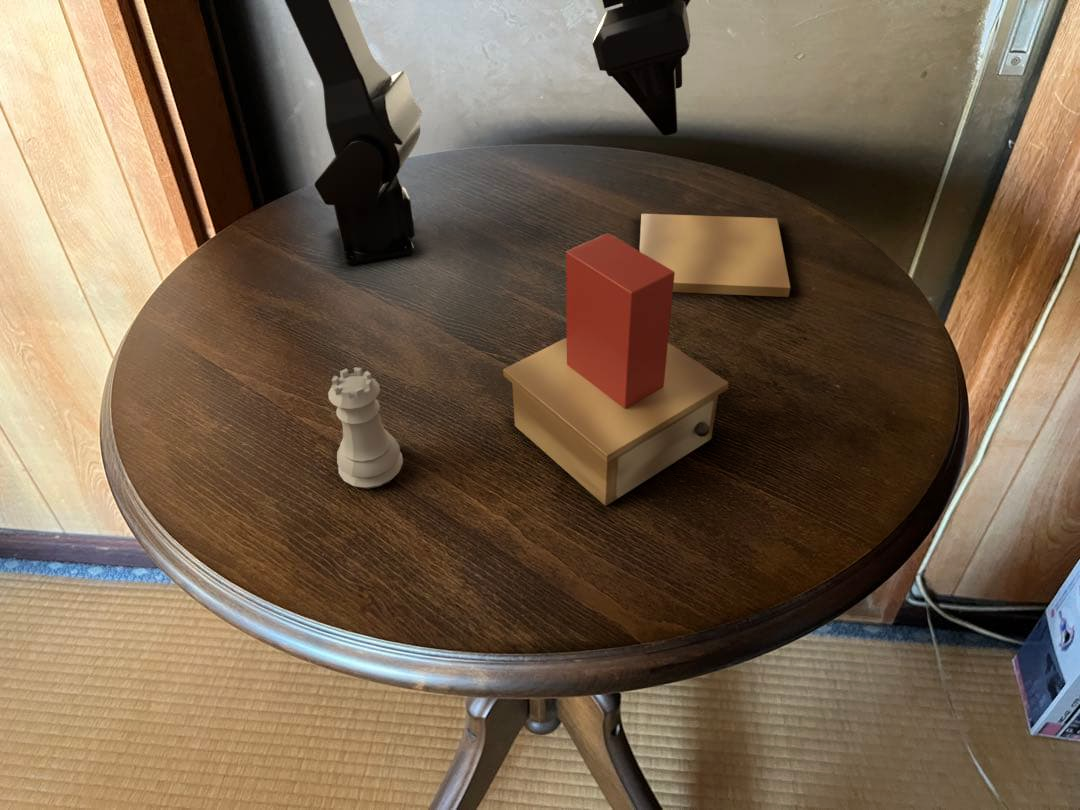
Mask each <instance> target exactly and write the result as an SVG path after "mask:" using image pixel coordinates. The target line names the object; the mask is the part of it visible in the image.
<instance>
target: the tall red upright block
mask: <svg viewBox="0 0 1080 810" xmlns="http://www.w3.org/2000/svg"><path fill="white" fill-rule="evenodd" d="M565 258H566V259H565V272H566V273H565V277H566V278H565V281H566V282H565V284H566V285H565V286H566V287H565V288H566V289H565V290H566V291H565V293H566V300H565V301H566V306H565V307H566V310H565V311H566V338H567V365H568V366H569V367H571V368H572V369H573V370H575V371H576V372H577V373H579V374H580V375H581V376H583V377H584V378H585V379H586V380H588V381H589V382H590V383H592V384H593V385H594V386H596V387H597V388H598V389H600V390H601V391H602V392H604V393H605V394H606V395H607V396H609V397H610V398H611V399H613V400H614V401H615V402H617V403H618V404H619V405H621V406H622V407H623V408H625V409H626V408H628V407H630V406H631V405H633V404H635V403H637V402H638V401H640V400H642V399H643V398H645V397H647V396H649V395H650V394H652V393H654V392H656V391H657V390H659V389H661V388H663V387H664V378H665V368H666V358H667V347H668V343H669V336H670V327H671V326H670V325H671V317H672V316H671V315H672V306H673V305H672V304H673V297H674V296H673V295H674V294H673V293H674V292H673V285H674V275H675V272H674V271H672V270H671V269H669V268H667V267H665V266H664V265H662V264H660V263H659V262H657V261H655V260H654V259H652V258H650V257H648V256H647V255H645V254H643V253H642V252H640V251H639V250H638V249H636V248H635V247H633V246H631V245H630V244H628V243H626V242H624V241H623V240H621V239H620V238H618V237H616V236H614V235H613V234H611V233H609V232H607V233H605V234H602V235H600V236H598V237H596V238H594V239H591V240H589V241H586V242H584V243H581V244H580V245H578V246H576V247H575V246H574V247H573V248H571V249H568V250H567V251H566V252H565Z"/></svg>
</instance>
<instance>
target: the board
mask: <svg viewBox="0 0 1080 810" xmlns="http://www.w3.org/2000/svg"><path fill="white" fill-rule="evenodd" d="M639 231H640V233H639V250H638V251H640V252H642V253H643V254H645V255H647V256H648V257H650V258H652V259H654V260H655V261H657V262H659V263H660V264H662V265H664V266H665V267H667V268H669V269H671V270H672V271H674V272H675V275H674V285H673V293H683V294H684V293H685V294H707V295H710V294H711V295H731V296H733V295H734V296H753V297H777V298H789V297H790V293H791V282H790V278H789V277H790V276H789V272H788V267H787V261H786V257H785V252H784V247H783V246H784V245H783V241H782V236H781V231H780V225H779V221H778V218H777V217H752V216H749V217H748V216H723V215H721V216H719V215H695V214H691V215H690V214H666V213H665V214H664V213H662V214H661V213H641V215H640V230H639Z"/></svg>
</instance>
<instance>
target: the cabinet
mask: <svg viewBox="0 0 1080 810" xmlns="http://www.w3.org/2000/svg"><path fill="white" fill-rule="evenodd" d="M502 372H503V373H502V374H503V377H504V378H505V379H506V380H508V381H509V382H510V383H511V386H512V403H513V413H514V414H513V417H514V427H516V429H518V430H519V431H520V432H521V433H522V434H523V435H524V436H525V437H527V439H529V440H530V441H531V442H532V443H533V444H534V445H536V446H537V447H538V448H539V449H540V450H541V451H543V452H544V453H545V454H546V455H547V456H548V457H549V458H550V459H551V460H553V461H554V462H555V463H556V464H557V465H559V466H560V467H561V468H562V469H563V470H564V471H565V472H566V473H567V474H569V476H571V477H572V478H573V479H574V480H575V481H576V482H578V483H579V484H580V485H581V486H582V487H583V488H584V489H585V490H587V492H589V493H590V494H591V495H593V497H594V498H596V499H597V500H598V501H599V502H600V503H601V504H603V505H604V506H606V507H607V506H608V505H610V504H611V503H613V502H615V501H616V500H617V499H619V498H621V497H622V496H624V495H625V494H627V493H629V492H631V491H632V490H634V489H635V488H637V487H639V485H641V484H643V483H644V482H646V481H648V480H649V479H650V478H652V477H654V476H655V475H657V474H658V473H660V472H661V471H664V470H665V469H667V468H668V467H669V466H672V464H675V463H676V462H677V461H679V460H680V459H682V458H684V457H685V456H687V455H688V454H690V453H692V452H693V451H695V450H697V449H698V448H700V447H701V446H703V445H704V444H706V443H707V442H709V441H711V440H712V437H713V430H714V425H715V423H714V422H715V417H716V411H717V404H718V398H719V395H721V394H722V393H724V392H725V391H727V390H728V389H729V383H730V382H728V381H727V380H725V379H724V378H722V377H721V376H719V375H718V374H716V373H715V372H713V371H712V370H710V369H709V368H707V367H706V366H704V365H703V364H701V363H700V362H698V361H697V360H695V359H694V358H692V357H691V356H689V355H688V354H686V353H685V352H683V351H682V350H680V349H679V348H677V347H675V346H674V345H672V344H671V343H670V342H668V347H667V358H666V368H665V378H664V387H663V388H661V389H659V390H657V391H656V392H654V393H652V394H650V395H649V396H647V397H645V398H643V399H642V400H640V401H638V402H637V403H635V404H633V405H631V406H630V407H628V408H626V409H625V408H623V407H622V406H621V405H619V404H618V403H617V402H615V401H614V400H613V399H611V398H610V397H609V396H607V395H606V394H605V393H604V392H602V391H601V390H600V389H598V388H597V387H596V386H594V385H593V384H592V383H590V382H589V381H588V380H586V379H585V378H584V377H583V376H581V375H580V374H579V373H577V372H576V371H575V370H573V369H572V368H571V367H569V366H568V365H567V337H565V338H563V339H561V340H559V341H557V342H555V343H553V344H551V345H549V346H547V347H545V348H543V349H541V350H539V351H537V352H535V353H533V354H531V355H529V356H527V357H525V358H523V359H521V360H519V361H517V362H515V363H513V364H511V365H509V366H507V367H505V368H504V369H503V370H502Z"/></svg>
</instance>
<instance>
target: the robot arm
mask: <svg viewBox="0 0 1080 810" xmlns="http://www.w3.org/2000/svg"><path fill="white" fill-rule="evenodd" d="M601 1H602V5H603V8H604V9H608V8H611V7H614V6H618V5H621V6H618V7H615V8H612V9H608V10H606V12H605V14H604V15H603V17H602V19H601V21H600V22H599V25H598V27H597V29H596V32H595V35H594V38H593V41H592V47H593V51H594V52H593V53H594V55H595V58H596V62H597V65H598V69H599V71H603V72H605V73H606V75H607V76H608V77H612V78H613V79H614V80H615V81H616V82H617V84H618V85H619V86H620V87H621V88H622V89H623V90H624V91H625V93H627V95H628V96H629V97H630V98H631V99H632V100H633V101H634V102H635V104H636V105H637V106H638V107H639V108H640V110H641V111H642V112H643V113H644V114H645V115H646V117H647V118H648V119H649V121H650V122H651V123H652V124H653V125H654V127H656V129H657V130H658V131H659V132H660V133H661V135H662V136H664V137H667V136H672V135H675V134H677V133H678V128H679V127H678V104H677V103H678V102H677V89H680V88H682V87H683V57H684V56H686V54H688V52H689V49H690V46H691V45H690V44H691V35H692V34H691V28H690V22H689V16H688V11H687V7H688V6H689V4H690V2H691V0H601ZM284 3H285V5H286V8H287V9H288V12H289V14H290V16H291V19H292V21H293V23H294V24H295V26H296V28H297V31H298V33H299V35H300V37H301V39H302V42H303V44H304V46H305V48H306V51H307V52H308V54H309V57H310V59H311V61H312V63H313V66H314V68H315V70H316V72H317V74H318V77H319V79H320V81H321V84H322V89H323V102H324V114H325V125H326V130H327V133H328V136H329V140H330V143H331V147H332V149H333V154H334V157H333V159H331V162H330V163H329V164H328V165H327V166H326V167H325V169H324V170H323V171H322V172H321V174H320V175H319V177H318V178H317V179H316V181H315V182H314V188H315V189H316V191H317V192H318V195H319V196H320V198H321V200H322V201H323V203H324V204H325V205H326V206H333V209H334V214H335V218H336V224H337V229H336V231H337V237H338V240H339V243H340V247H341V248H340V249H341V251H342V255H343V259H344V263H345V264H346V265H348V266H350V265H355V264H361V263H367V262H372V261H378V260H385V259H388V258H389V259H391V258H394V257H399V256H405V255H410V254H412V253H414V252H415V246H414V243H413V241H412V239H414V238H415V237H416V233H415V225H414V218H413V211H412V203H411V199H410V195H409V194H408V191H407V188H405V187H404V186H402V183H401V180H400V178H399V176H398V175H399V172H400V170H402V167H403V166H404V164H405V162H406V161H407V160H408V158H409V156H410V155H411V153H412V152H413V150H414V149H415V147H416V146H417V143H418V141H419V138H420V135H421V124H420V118H421V117H422V116H423V114H424V111H423V109H422V108H421V107H420V106H419V105H418V104H417V102H416V100H415V98H414V97H413V93H412V91H411V86H410V81H409V78H408V76H407V74H406V72H405V71H404V70H401V71H398V72H397V73H395V74H392V75H391V74H389V73H388V72H387V71H386V70H385V68H384V67H382V66H381V65H380V64H379V63H378V61H377V60H376V59H375V57H374V56H373V54H372V52H371V49H370V47H369V44H368V43H367V39H366V37H365V35H364V32H363V30H362V28H361V26H360V23H359V21H358V18H357V16H356V13H355V11H354V8H353V6H352V3H351V1H350V0H284Z"/></svg>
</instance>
